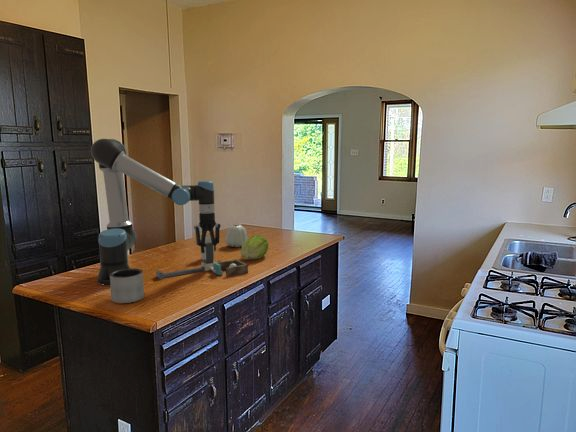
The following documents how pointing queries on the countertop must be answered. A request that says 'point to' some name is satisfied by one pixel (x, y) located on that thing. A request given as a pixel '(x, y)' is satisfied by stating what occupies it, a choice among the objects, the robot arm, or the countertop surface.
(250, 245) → the lettuce
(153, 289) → the countertop surface
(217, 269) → the carriage
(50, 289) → the countertop surface
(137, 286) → the planter
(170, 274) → the rail
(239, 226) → the vase
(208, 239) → the mug
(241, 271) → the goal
